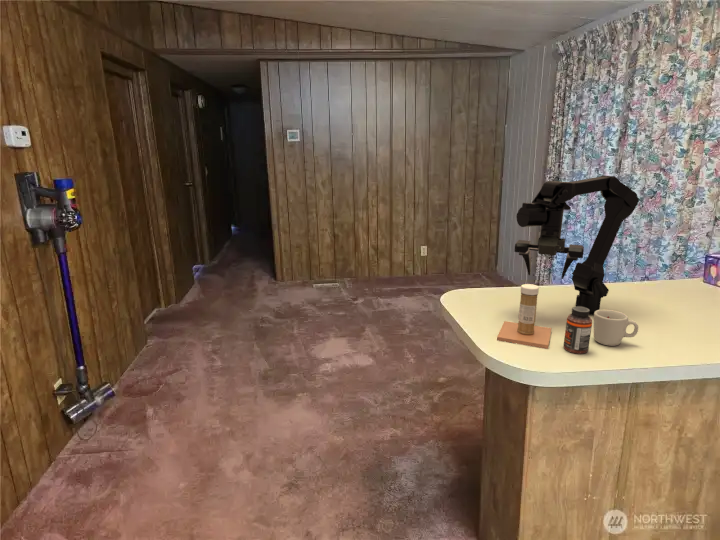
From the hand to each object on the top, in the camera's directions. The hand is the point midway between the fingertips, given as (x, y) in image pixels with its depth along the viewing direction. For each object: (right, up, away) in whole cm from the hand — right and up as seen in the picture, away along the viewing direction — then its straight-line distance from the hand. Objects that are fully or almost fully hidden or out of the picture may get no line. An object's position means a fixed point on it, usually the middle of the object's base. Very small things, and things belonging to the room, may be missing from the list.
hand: (545, 276), depth 142 cm
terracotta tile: (-10, -16, -10) cm, 22 cm away
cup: (+12, -18, -15) cm, 26 cm away
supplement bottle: (0, -19, -19) cm, 27 cm away
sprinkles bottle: (-10, -15, -10) cm, 21 cm away
